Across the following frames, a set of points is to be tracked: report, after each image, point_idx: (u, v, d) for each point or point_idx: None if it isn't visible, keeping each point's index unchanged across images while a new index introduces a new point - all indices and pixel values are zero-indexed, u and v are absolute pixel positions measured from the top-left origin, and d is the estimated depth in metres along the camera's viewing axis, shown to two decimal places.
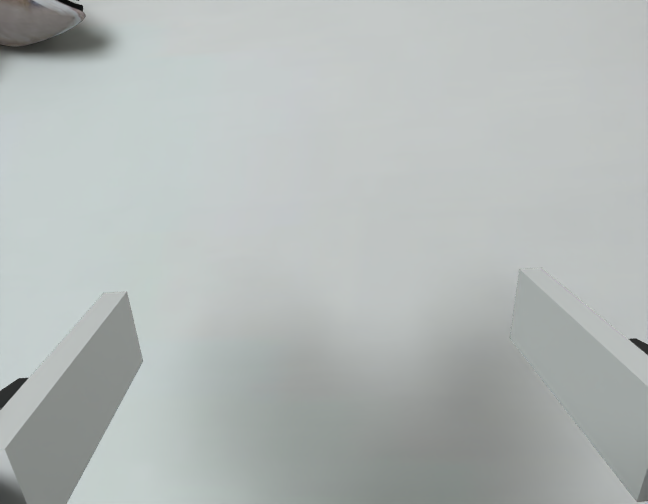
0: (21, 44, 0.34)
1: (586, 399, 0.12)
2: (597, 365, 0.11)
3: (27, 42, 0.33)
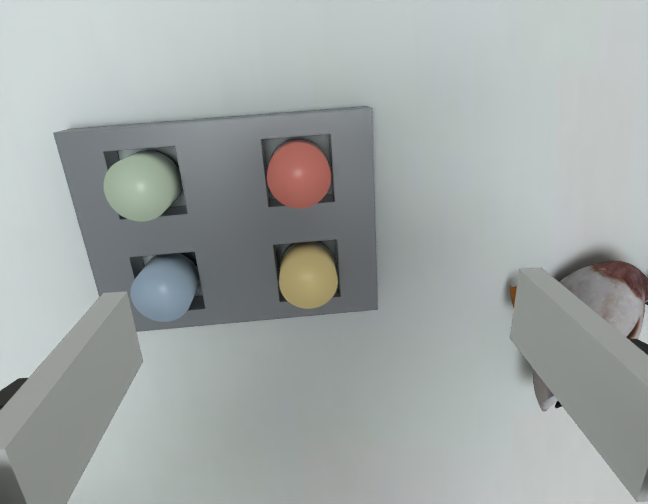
0: None
1: (586, 399, 0.12)
2: (597, 365, 0.11)
3: None
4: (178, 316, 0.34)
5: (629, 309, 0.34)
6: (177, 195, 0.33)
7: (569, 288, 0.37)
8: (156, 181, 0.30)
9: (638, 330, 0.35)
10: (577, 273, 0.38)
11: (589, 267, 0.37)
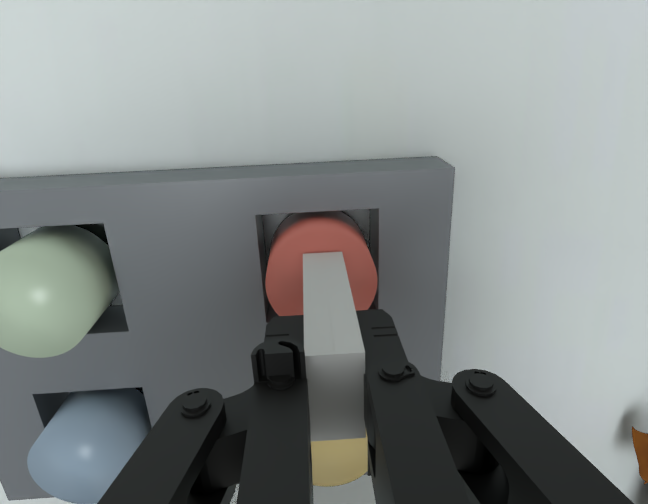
0: None
1: None
2: None
3: None
4: None
5: None
6: (112, 299, 0.20)
7: None
8: (62, 293, 0.17)
9: None
10: None
11: None
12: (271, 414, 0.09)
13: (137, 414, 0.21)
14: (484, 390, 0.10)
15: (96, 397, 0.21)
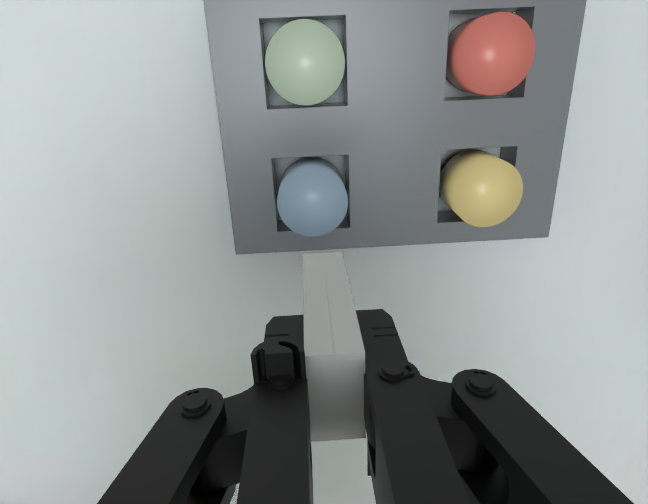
0: None
1: None
2: None
3: None
4: (329, 230, 0.29)
5: None
6: None
7: None
8: (330, 52, 0.25)
9: None
10: None
11: None
12: (271, 414, 0.09)
13: (341, 178, 0.30)
14: (484, 390, 0.10)
15: (316, 161, 0.29)
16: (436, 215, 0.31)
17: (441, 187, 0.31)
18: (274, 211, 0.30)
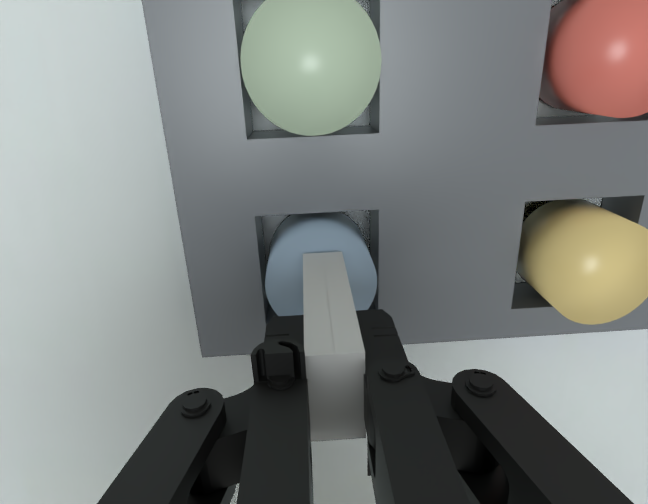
0: None
1: None
2: None
3: None
4: None
5: None
6: None
7: None
8: (355, 43, 0.14)
9: None
10: None
11: None
12: (271, 414, 0.09)
13: (364, 240, 0.19)
14: (484, 390, 0.10)
15: (326, 216, 0.19)
16: (510, 298, 0.20)
17: (518, 255, 0.20)
18: (260, 295, 0.19)
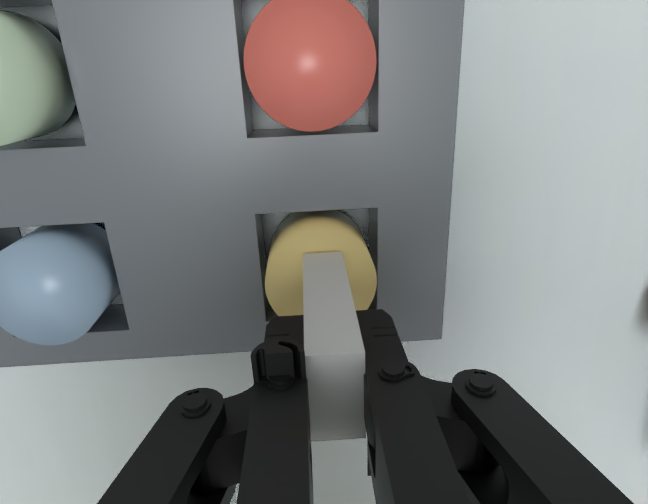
0: None
1: None
2: None
3: None
4: (75, 336, 0.18)
5: None
6: (66, 108, 0.17)
7: None
8: None
9: None
10: None
11: None
12: (271, 414, 0.09)
13: (106, 252, 0.19)
14: (484, 390, 0.10)
15: (60, 228, 0.19)
16: (263, 310, 0.20)
17: None
18: None
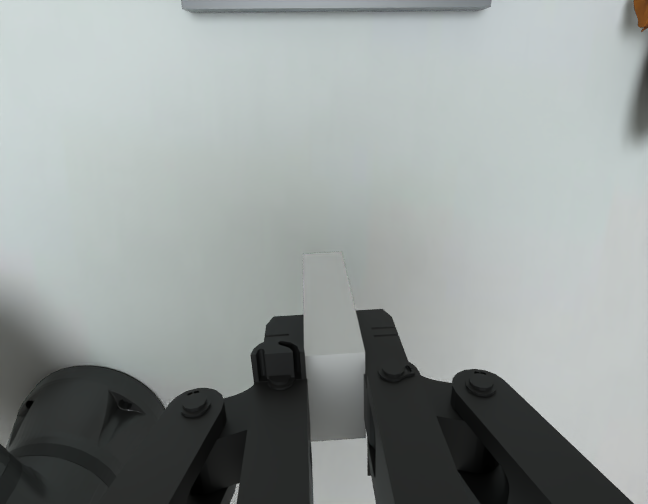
0: None
1: None
2: None
3: None
4: None
5: None
6: None
7: None
8: None
9: None
10: None
11: None
12: (271, 414, 0.09)
13: None
14: (484, 390, 0.10)
15: None
16: None
17: None
18: None
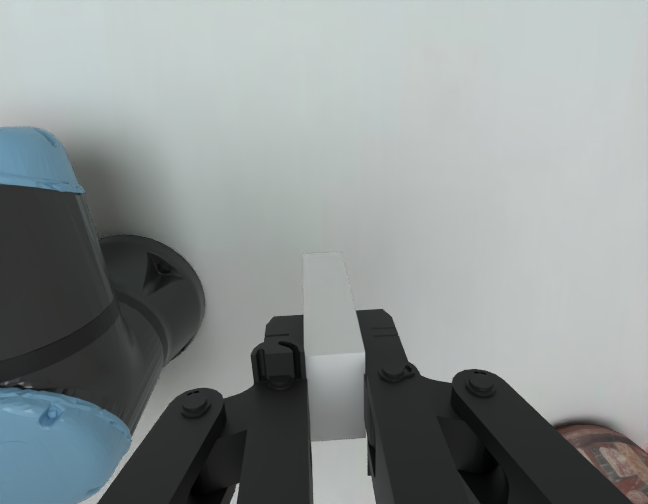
0: None
1: None
2: None
3: None
4: None
5: None
6: None
7: None
8: None
9: None
10: None
11: None
12: (271, 414, 0.09)
13: None
14: (484, 390, 0.10)
15: None
16: None
17: None
18: None
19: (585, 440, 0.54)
